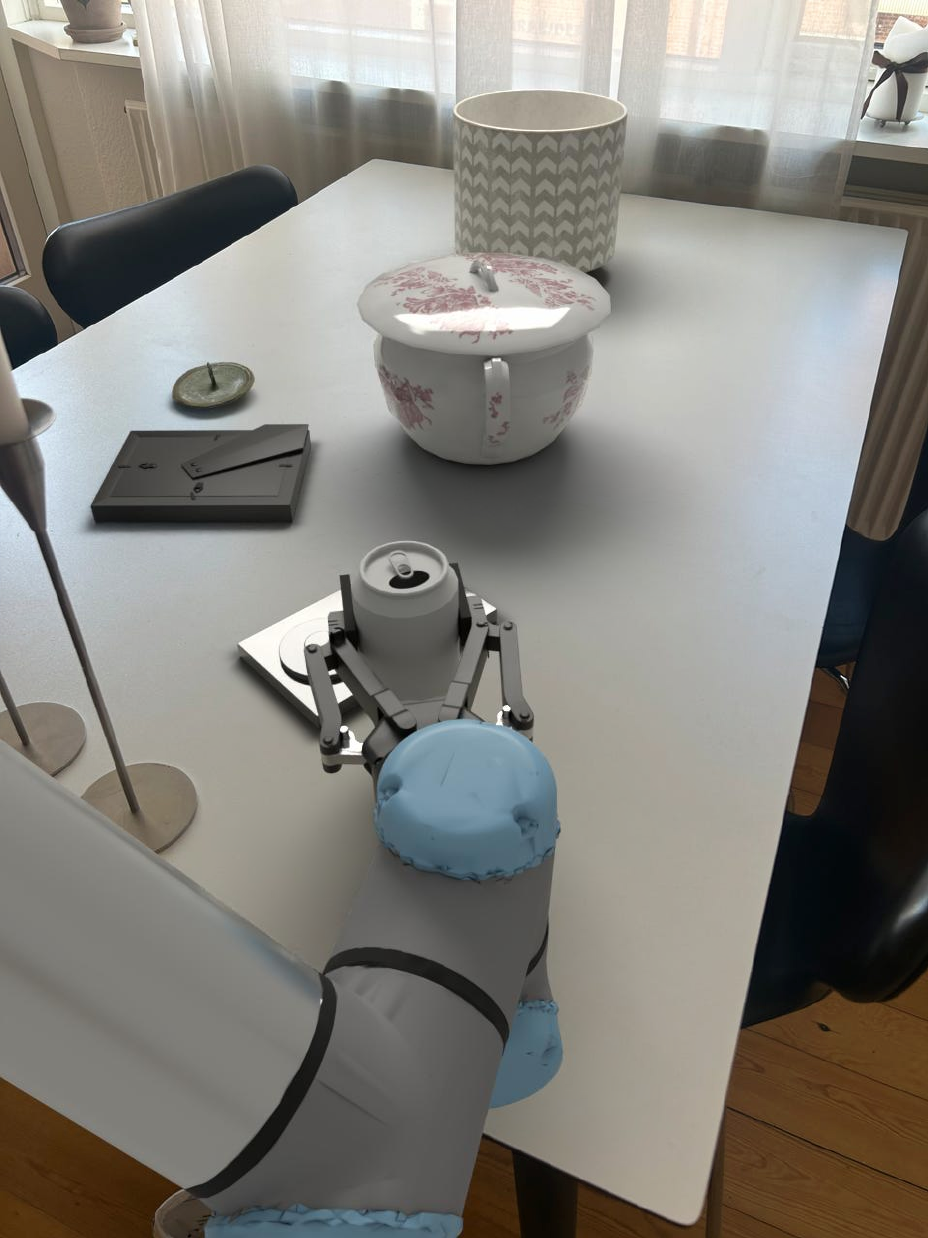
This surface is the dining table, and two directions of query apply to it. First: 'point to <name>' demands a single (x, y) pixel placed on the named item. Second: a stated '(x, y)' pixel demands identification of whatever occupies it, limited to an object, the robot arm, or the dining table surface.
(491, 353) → the chamber pot
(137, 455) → the picture frame
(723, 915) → the dining table surface
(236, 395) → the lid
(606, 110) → the planter
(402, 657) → the can
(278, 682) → the hob
